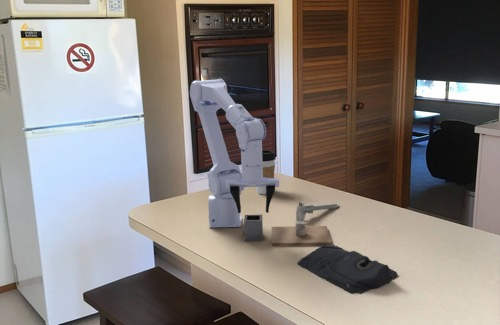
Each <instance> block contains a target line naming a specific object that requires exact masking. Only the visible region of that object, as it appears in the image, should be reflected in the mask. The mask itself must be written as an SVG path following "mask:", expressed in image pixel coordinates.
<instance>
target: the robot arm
mask: <svg viewBox="0 0 500 325" xmlns="http://www.w3.org/2000/svg"><path fill="white" fill-rule="evenodd" d="M227 86H228V85H227V83H226V82H225V81H224V80H223V79H222V78H218V79H207V80H193V81H192V82H191V84H190V87H189V96H190V99H191V103H192V106H193V110H194V112H197V113H198V116H199V119H200V123H201V126H202V130H203V133H204V137H205V140H206V144H207V148H208V150H209V155H210V157H211V161H212V165H213V166H212V167H211V168H210V169H209V171H208V172H207V180H208V190H209V191H210V194H211V195H209V196H208V204H207V206H208V222H209V226H208V227H209V228H241V227H242V222H243V216H241V212H242V205H241V195H242V192H243V191H244V190H245V188H246V187H247V188H252V187H253V188H254V187H255V188H256V187H266V194H265V195H266V196H265V197H266V198H265V213H267V214H268V213H269V210H270V204H271V201H272V199H273V197H274V194H275V192H276V188H280V177H279V178H278V177H277V178H275V177H274V178H263V167H262V150H263V140H265V138H266V135H267V127H266V124H265V123H264V121H263V120H262V119H261V118H257V117H253V116H252V115H251V113H249V111H248V110H247V109H246V108H245V107H244V105H242V104H241V103H240V104H239V103H236V102H235V101H234V99H233V98H232V97H231V95H230V94H229V93H228V87H227ZM220 109H222V110H224V112H225V119H226V121H228V123H229V124H230V125H231V126H232V128H233V129H235V135H236V138H237V142H238V147H239V149H240V156H241V157H240V158H241V160H240V162H241V166H239V165H238V164H236V163H234V162H232V161H231V159H230V157H229V153H228V150H227V147H226V142H225V140H224V136H223V133H222V129H221V126H220V122H219V119H218V116H217V112H218V110H220ZM240 167H241V169H240Z"/></svg>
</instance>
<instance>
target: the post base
mask: <svg viewBox="0 0 500 325" xmlns="http://www.w3.org/2000/svg"><path fill="white" fill-rule="evenodd" d="M270 228H271V247H301V246H302V247H310V246H311V247H312V246H314V247H317V246H318V247H321V246H325V245H331V244H332V245H333V243H332V242H333V241H332V240H331V236H330V233H329V230H328V226H327V225H317V226H316V225H314V226H313V225H312V226H311V225H309V226H307V225H306V223H305V220H304V221H296V220H295V226H271V227H270Z"/></svg>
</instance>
